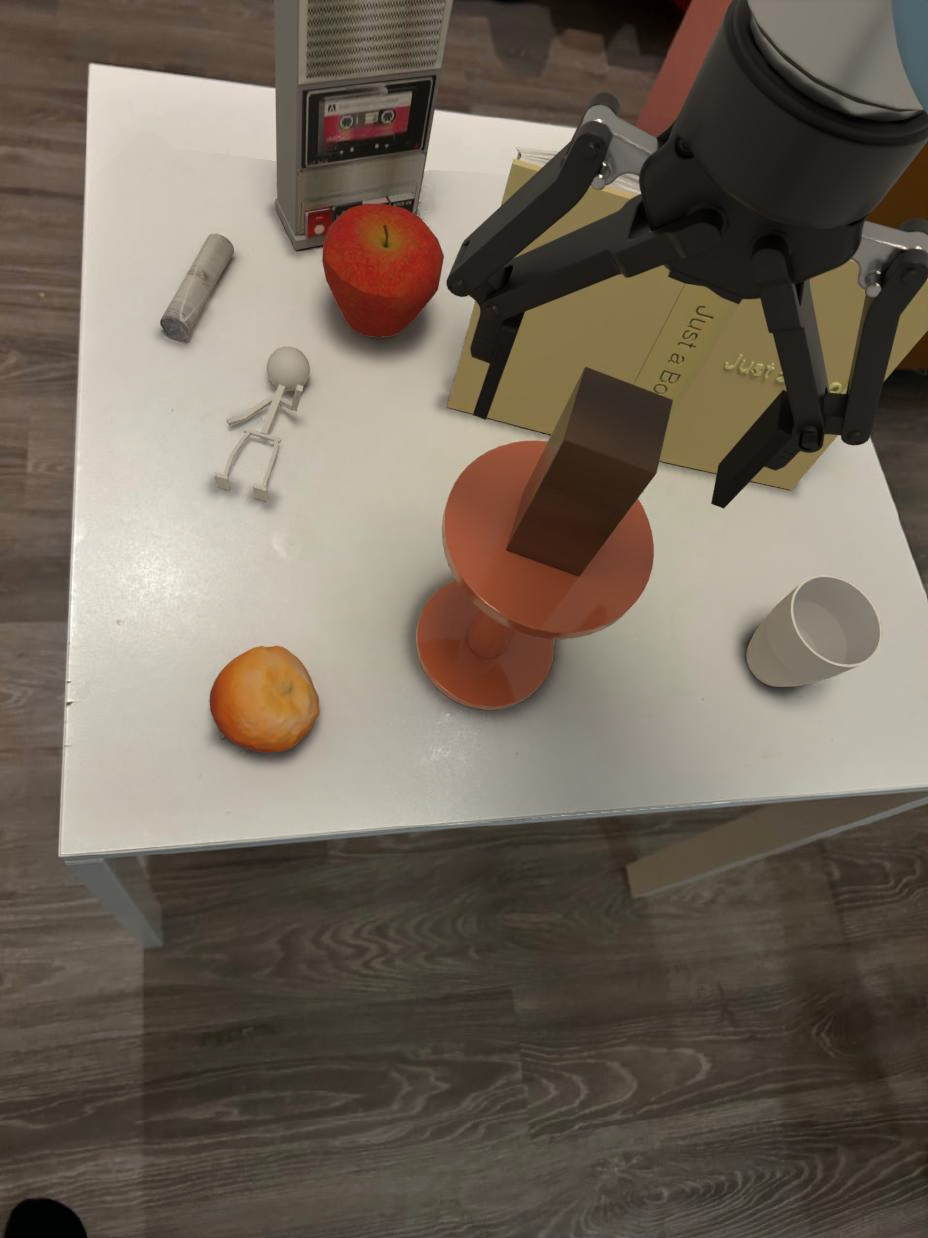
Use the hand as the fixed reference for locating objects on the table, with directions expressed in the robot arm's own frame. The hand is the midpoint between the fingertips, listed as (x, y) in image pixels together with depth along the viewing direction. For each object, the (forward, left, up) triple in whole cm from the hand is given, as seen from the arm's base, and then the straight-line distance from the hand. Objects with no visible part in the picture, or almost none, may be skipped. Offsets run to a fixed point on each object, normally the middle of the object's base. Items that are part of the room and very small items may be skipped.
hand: (604, 443), depth 44 cm
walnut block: (0, 0, -10) cm, 10 cm away
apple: (+29, +20, -30) cm, 46 cm away
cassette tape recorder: (+41, +27, -30) cm, 57 cm away
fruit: (-12, +15, -30) cm, 36 cm away
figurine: (+13, +25, -30) cm, 41 cm away
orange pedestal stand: (0, 0, -30) cm, 30 cm away
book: (+28, -7, -30) cm, 41 cm away
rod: (+24, +36, -30) cm, 53 cm away
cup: (+8, -26, -30) cm, 40 cm away
